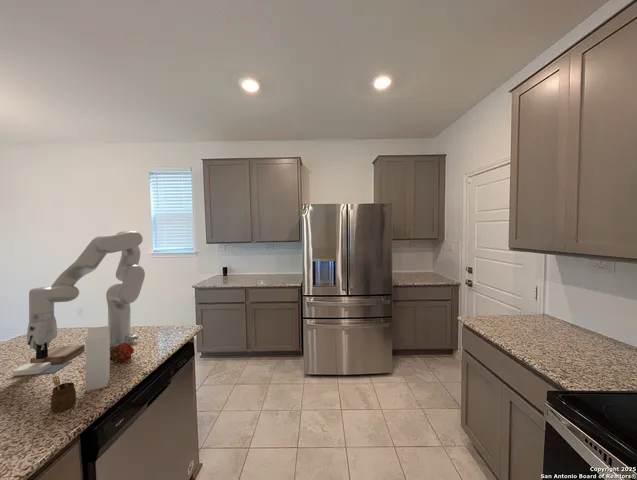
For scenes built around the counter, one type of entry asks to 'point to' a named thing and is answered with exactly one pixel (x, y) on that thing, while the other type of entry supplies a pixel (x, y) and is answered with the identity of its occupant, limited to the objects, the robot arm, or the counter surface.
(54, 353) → the brown square plate
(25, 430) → the counter surface
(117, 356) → the dragon fruit
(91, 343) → the milk
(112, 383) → the counter surface
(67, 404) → the utensil holder
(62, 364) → the mat
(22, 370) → the white rectangular block
